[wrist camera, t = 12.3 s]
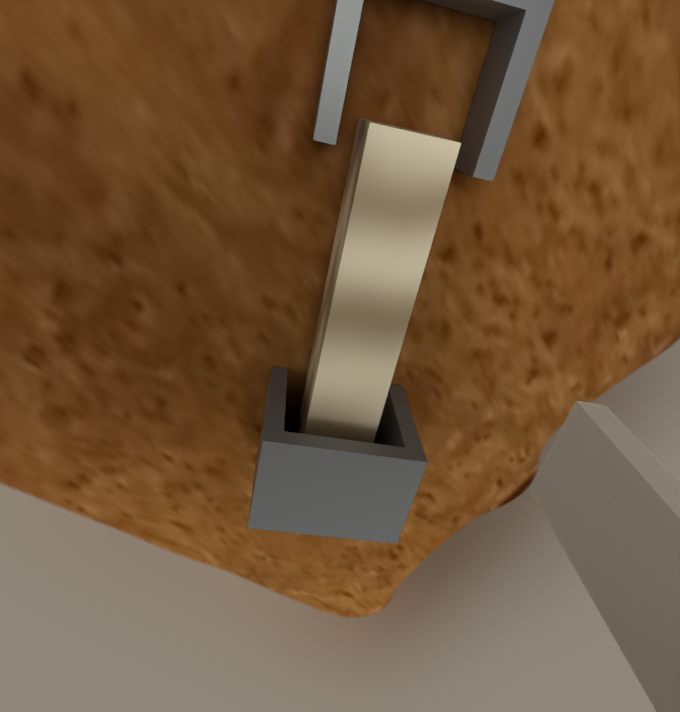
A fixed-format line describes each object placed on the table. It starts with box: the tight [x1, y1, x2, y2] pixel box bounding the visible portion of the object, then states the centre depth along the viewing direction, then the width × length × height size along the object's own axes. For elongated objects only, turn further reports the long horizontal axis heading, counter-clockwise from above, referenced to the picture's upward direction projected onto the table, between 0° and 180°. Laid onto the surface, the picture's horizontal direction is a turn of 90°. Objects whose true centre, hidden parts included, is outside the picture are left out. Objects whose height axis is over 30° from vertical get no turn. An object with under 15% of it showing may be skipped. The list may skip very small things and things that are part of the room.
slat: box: [299, 118, 461, 443], centre depth 27 cm, size 18×4×5 cm, turn 168°
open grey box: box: [247, 366, 427, 544], centre depth 29 cm, size 8×6×8 cm
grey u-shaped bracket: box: [312, 0, 555, 181], centre depth 22 cm, size 8×8×4 cm
